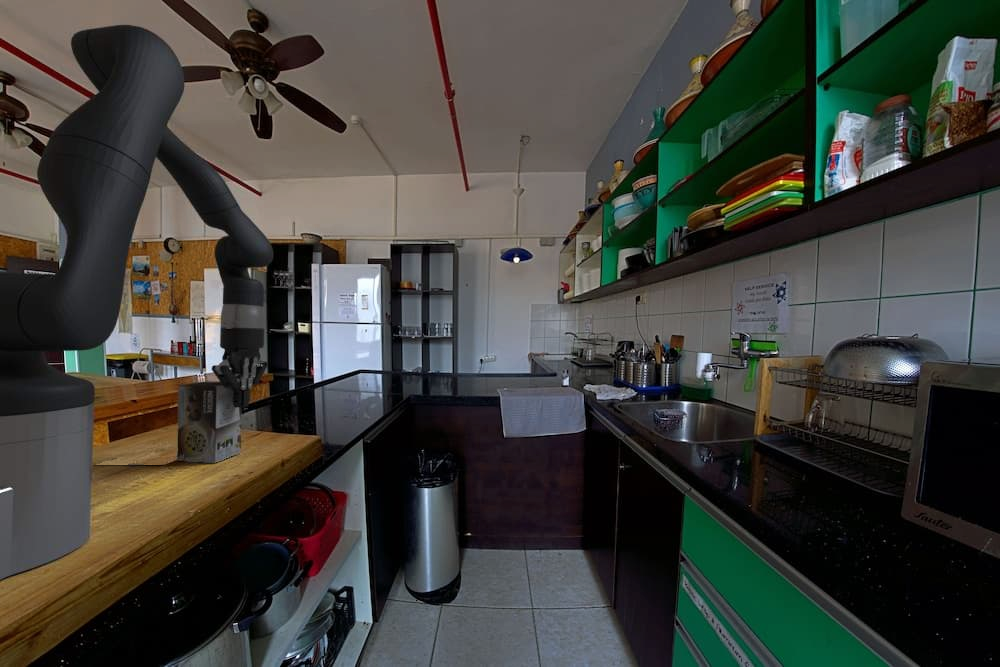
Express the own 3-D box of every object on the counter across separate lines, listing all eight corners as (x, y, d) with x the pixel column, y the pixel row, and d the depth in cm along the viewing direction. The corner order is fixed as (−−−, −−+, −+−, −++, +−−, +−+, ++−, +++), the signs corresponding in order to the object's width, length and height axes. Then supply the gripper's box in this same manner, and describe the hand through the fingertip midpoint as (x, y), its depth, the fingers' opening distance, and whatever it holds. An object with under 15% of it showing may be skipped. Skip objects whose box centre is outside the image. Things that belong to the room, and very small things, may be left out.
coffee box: (242, 453, 73) (244, 381, 74) (214, 464, 67) (216, 385, 67) (205, 451, 74) (207, 380, 74) (174, 462, 68) (177, 384, 68)
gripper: (249, 327, 78) (247, 400, 77) (197, 325, 64) (195, 413, 64) (281, 327, 78) (279, 401, 77) (235, 325, 64) (233, 413, 64)
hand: (241, 406), depth 71 cm, fingers closed
